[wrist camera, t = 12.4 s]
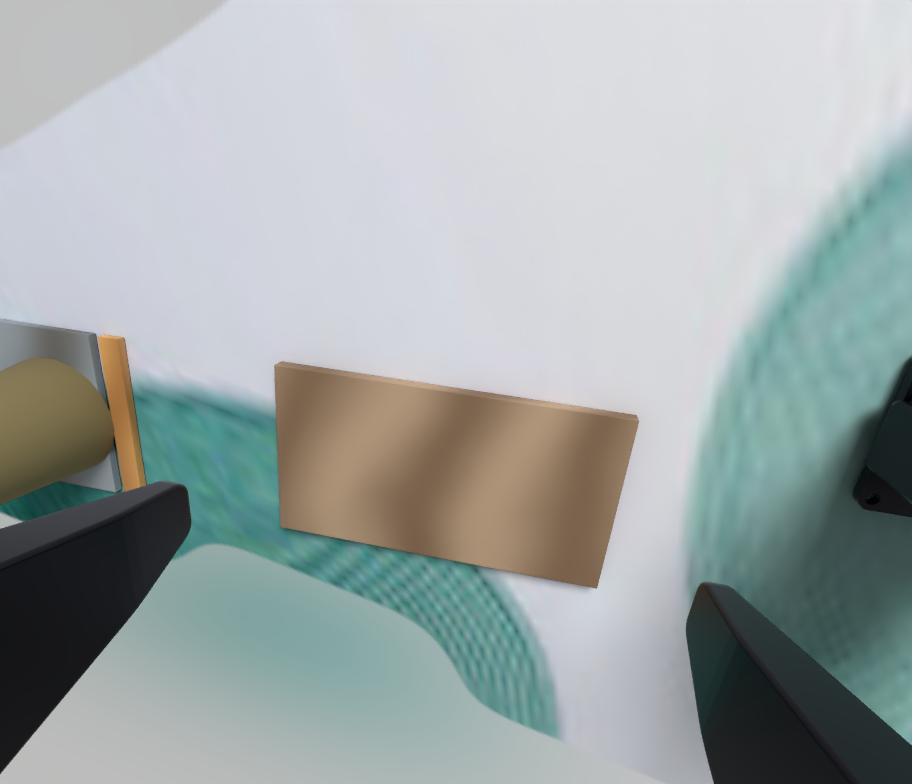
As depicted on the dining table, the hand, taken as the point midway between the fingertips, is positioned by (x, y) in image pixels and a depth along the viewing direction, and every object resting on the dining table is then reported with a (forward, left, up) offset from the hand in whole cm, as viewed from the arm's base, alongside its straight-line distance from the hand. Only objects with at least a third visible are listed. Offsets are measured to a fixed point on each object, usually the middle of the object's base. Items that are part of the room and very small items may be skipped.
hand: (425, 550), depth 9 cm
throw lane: (+10, +6, -13) cm, 18 cm away
